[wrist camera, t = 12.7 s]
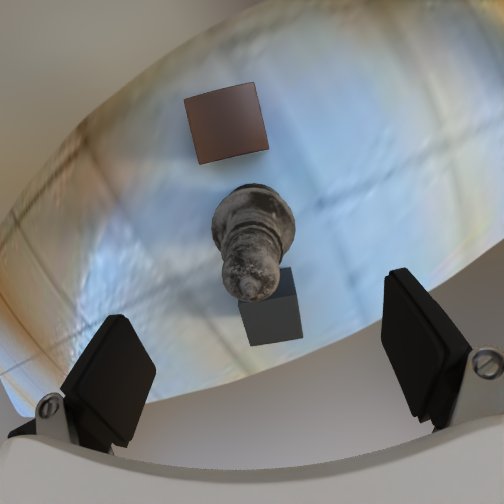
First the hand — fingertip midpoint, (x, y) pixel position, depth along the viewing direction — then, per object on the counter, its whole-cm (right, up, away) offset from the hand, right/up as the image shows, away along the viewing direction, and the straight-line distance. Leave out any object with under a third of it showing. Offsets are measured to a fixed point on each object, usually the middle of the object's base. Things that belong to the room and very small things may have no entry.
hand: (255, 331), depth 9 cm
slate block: (+2, -1, +16) cm, 16 cm away
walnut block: (-2, +12, +10) cm, 16 cm away
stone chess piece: (0, +6, +13) cm, 15 cm away
